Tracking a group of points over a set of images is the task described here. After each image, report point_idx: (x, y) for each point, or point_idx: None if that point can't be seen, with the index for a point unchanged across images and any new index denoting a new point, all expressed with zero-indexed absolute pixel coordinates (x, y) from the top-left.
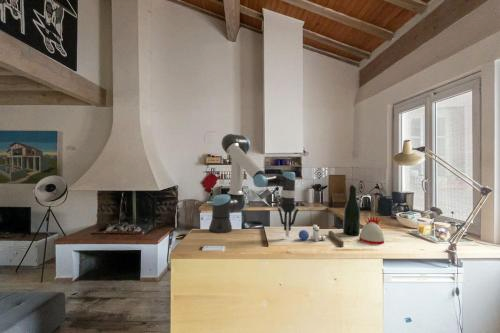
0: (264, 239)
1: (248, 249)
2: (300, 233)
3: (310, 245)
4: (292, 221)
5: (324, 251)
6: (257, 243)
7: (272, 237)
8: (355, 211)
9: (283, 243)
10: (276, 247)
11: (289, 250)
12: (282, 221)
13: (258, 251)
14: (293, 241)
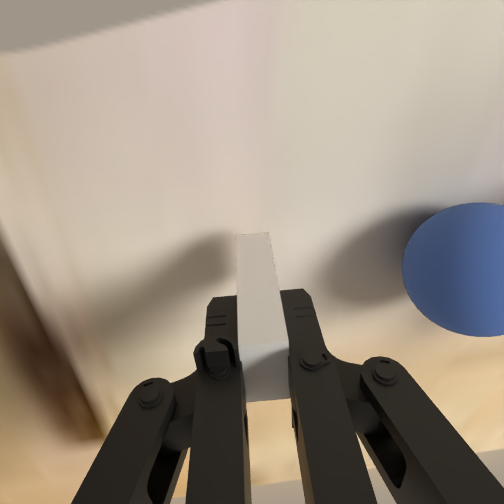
0: (8, 303)
1: (8, 492)
2: (431, 317)
3: (436, 368)
4: (381, 473)
5: (476, 440)
6: (3, 406)
7: (67, 211)
8: None
9: None
10: None
11: (257, 464)
12: (158, 485)
13: None
14: (314, 303)
